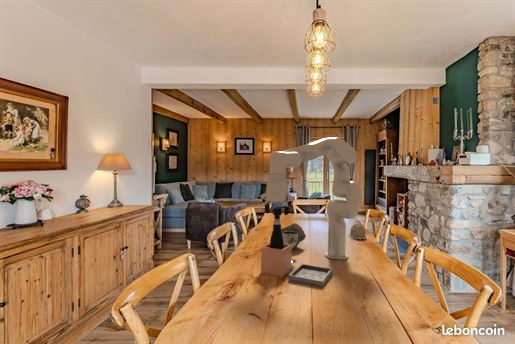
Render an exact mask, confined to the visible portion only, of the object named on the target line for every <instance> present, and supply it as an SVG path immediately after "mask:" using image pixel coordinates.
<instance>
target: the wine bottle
mask: <svg viewBox="0 0 515 344" xmlns="http://www.w3.org/2000/svg"><path fill="white" fill-rule="evenodd" d="M272 210H273V211H272V213H273V214H272V215H273V216H274V220H273V224H272V232H271V235H270V240H269V243H270V248H275V249H283V247H284V241H283V235H282V232H281V229H282V224H281V222H282V221H281V218H280V217H281V215H282V208H281V207H273V208H272Z"/></svg>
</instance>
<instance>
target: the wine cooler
mask: <svg viewBox="0 0 515 344" xmlns="http://www.w3.org/2000/svg"><path fill="white" fill-rule="evenodd" d="M260 249H261V250H260V273H261V274H266V275H271V276H277V277H282V278H283V277H285V276H286V275H287V274H288V273H289V272H291V271H292V264H293V263H292V259H293V258H292V256H293V254H292V252H293V248H292V245H289V244H284V247H283V249H275V248H270V242H268V243H266V244H265V245H262V246H261V247H260Z"/></svg>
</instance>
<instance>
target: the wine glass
mask: <svg viewBox="0 0 515 344" xmlns="http://www.w3.org/2000/svg"><path fill="white" fill-rule="evenodd" d="M297 239H298V232H295V231H284V232H283V241H284V244H289V245H292V249H294V248H293V247H294V246H295V245H296V243H297ZM296 263H297V260H296V259H294V258H292V263H291V264H296Z"/></svg>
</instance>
